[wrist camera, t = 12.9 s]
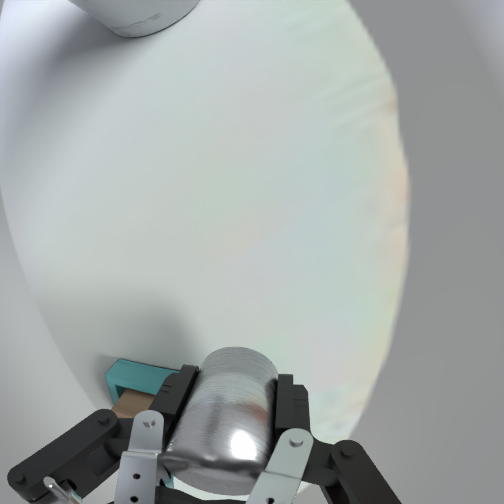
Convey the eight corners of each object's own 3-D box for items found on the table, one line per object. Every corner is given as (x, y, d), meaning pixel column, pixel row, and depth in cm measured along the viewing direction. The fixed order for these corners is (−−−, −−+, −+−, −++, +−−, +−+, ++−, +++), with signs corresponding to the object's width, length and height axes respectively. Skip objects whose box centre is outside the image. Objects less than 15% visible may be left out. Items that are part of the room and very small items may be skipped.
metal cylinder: (198, 342, 13) (152, 434, 7) (281, 349, 13) (276, 452, 7) (204, 400, 14) (173, 485, 9) (276, 407, 14) (268, 499, 8)
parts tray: (119, 358, 23) (104, 374, 20) (275, 382, 21) (273, 404, 19) (146, 449, 26) (138, 464, 23) (265, 470, 24) (263, 488, 22)
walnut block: (136, 375, 22) (110, 410, 17) (178, 384, 22) (157, 424, 17) (143, 406, 23) (122, 440, 18) (182, 415, 23) (165, 453, 18)
